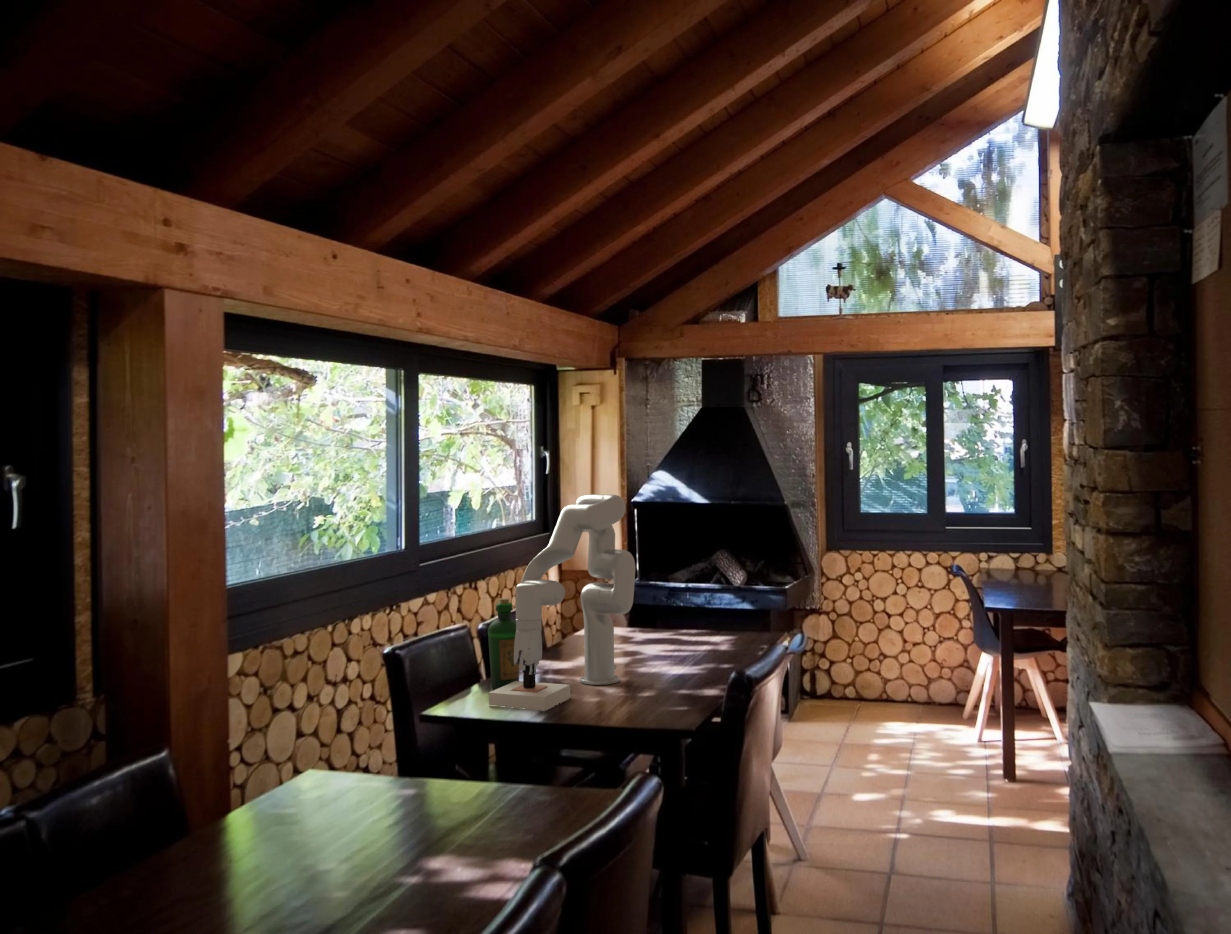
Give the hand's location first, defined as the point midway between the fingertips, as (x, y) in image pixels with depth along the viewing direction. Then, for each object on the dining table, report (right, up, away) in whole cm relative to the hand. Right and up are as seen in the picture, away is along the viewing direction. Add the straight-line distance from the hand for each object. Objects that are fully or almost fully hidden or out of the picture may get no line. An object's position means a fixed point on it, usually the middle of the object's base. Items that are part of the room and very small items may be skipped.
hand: (529, 687), depth 300 cm
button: (0, -4, 0) cm, 4 cm away
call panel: (0, -4, 0) cm, 4 cm away
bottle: (-9, -5, +20) cm, 22 cm away
